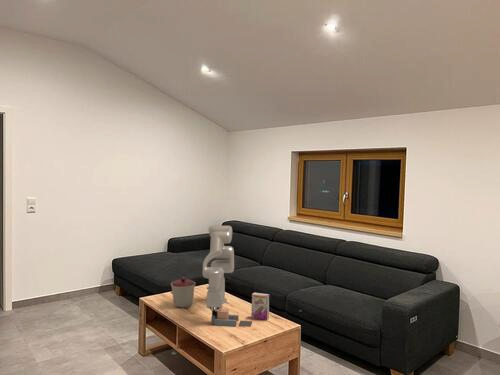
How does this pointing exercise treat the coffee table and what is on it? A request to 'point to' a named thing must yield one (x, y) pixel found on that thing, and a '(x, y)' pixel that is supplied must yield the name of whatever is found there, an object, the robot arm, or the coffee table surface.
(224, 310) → the block
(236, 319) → the grey u-shaped bracket
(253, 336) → the coffee table surface
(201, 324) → the coffee table surface
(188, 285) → the canister
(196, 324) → the coffee table surface
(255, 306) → the candy bar box
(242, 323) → the mat
